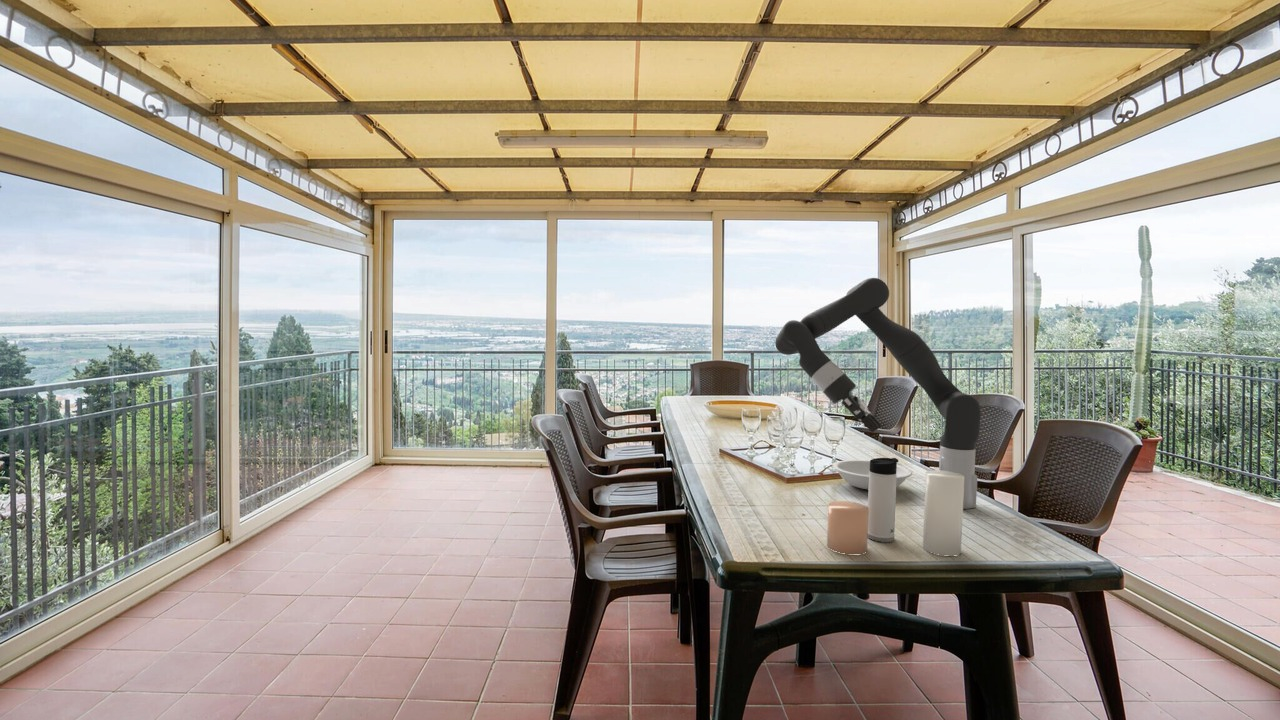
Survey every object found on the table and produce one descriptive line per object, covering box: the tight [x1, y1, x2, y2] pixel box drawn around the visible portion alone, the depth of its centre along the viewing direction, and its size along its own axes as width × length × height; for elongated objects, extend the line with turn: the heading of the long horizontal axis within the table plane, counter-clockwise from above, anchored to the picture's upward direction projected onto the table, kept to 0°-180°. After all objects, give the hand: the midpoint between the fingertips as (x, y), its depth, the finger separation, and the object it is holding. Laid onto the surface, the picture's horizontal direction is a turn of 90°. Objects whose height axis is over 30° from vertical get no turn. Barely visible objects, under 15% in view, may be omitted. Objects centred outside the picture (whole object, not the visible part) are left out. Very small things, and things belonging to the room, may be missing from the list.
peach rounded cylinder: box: [826, 500, 869, 554], centre depth 138 cm, size 9×9×10 cm
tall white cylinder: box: [922, 469, 964, 556], centre depth 138 cm, size 8×8×18 cm
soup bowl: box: [832, 459, 913, 491], centre depth 191 cm, size 24×24×7 cm
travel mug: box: [867, 457, 899, 543], centre depth 145 cm, size 6×7×20 cm
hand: (877, 429), depth 151 cm, fingers open, 8 cm apart
